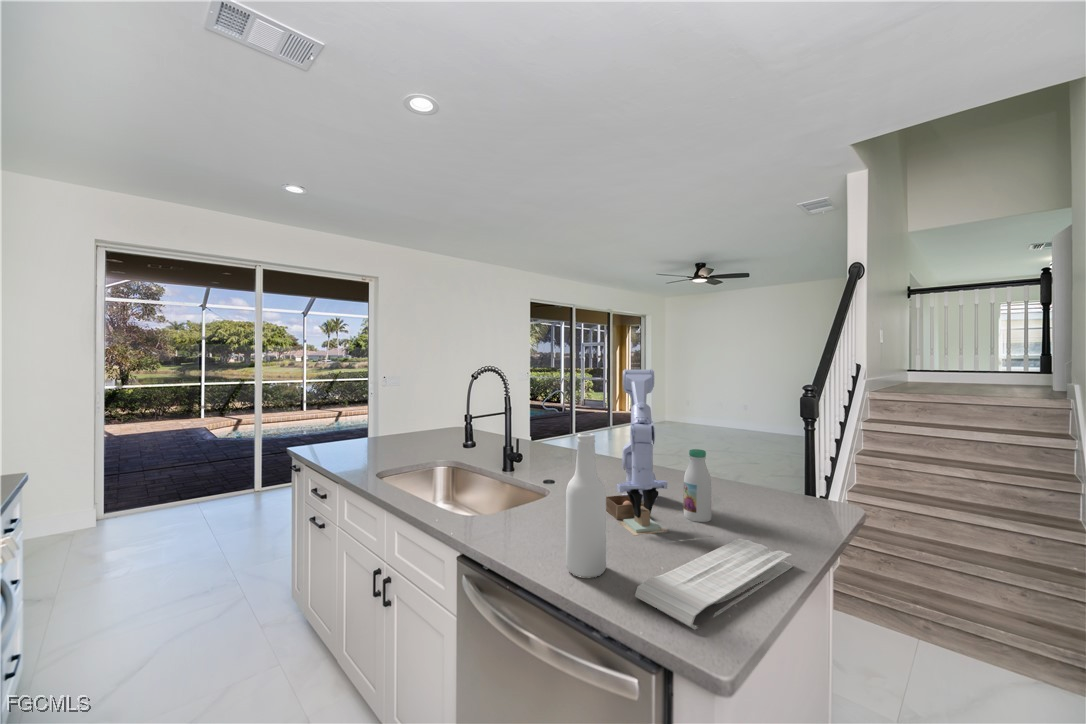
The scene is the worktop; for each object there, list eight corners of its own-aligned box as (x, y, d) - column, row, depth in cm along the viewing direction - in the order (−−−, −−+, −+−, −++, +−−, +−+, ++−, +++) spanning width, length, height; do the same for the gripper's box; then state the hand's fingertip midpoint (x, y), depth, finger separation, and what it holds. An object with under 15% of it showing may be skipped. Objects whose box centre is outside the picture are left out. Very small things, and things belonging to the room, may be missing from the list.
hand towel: (795, 551, 99) (690, 614, 75) (795, 568, 99) (690, 636, 75) (742, 533, 109) (634, 584, 85) (742, 549, 109) (634, 604, 85)
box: (631, 508, 139) (631, 494, 139) (645, 517, 130) (645, 503, 130) (604, 510, 136) (604, 496, 136) (617, 520, 128) (617, 505, 127)
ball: (629, 508, 137) (629, 499, 137) (634, 511, 134) (634, 502, 134) (620, 509, 136) (620, 499, 136) (625, 512, 133) (625, 502, 133)
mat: (649, 519, 129) (649, 518, 129) (667, 532, 119) (667, 531, 119) (617, 522, 126) (617, 521, 126) (634, 536, 116) (634, 535, 116)
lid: (647, 519, 127) (647, 503, 127) (661, 529, 120) (661, 512, 120) (623, 522, 125) (623, 505, 125) (636, 532, 118) (636, 514, 118)
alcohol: (580, 557, 104) (580, 429, 104) (613, 568, 98) (613, 433, 98) (558, 571, 97) (558, 434, 97) (591, 583, 92) (591, 439, 91)
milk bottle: (707, 514, 133) (707, 448, 133) (714, 523, 125) (714, 453, 125) (681, 513, 134) (681, 447, 134) (686, 522, 126) (686, 452, 126)
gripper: (624, 472, 117) (624, 523, 117) (673, 468, 121) (673, 518, 121) (613, 466, 123) (613, 514, 123) (659, 462, 127) (659, 509, 127)
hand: (642, 515), depth 122 cm, fingers closed on lid, 2 cm apart
